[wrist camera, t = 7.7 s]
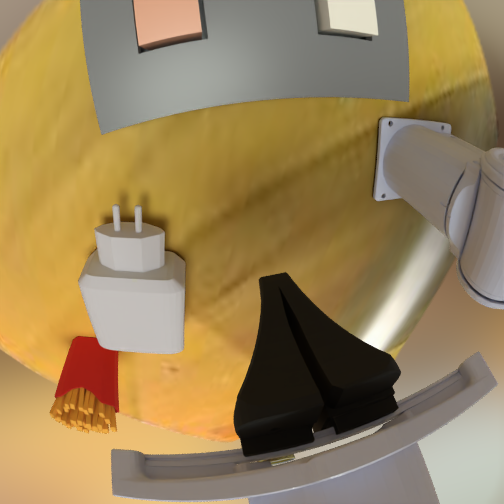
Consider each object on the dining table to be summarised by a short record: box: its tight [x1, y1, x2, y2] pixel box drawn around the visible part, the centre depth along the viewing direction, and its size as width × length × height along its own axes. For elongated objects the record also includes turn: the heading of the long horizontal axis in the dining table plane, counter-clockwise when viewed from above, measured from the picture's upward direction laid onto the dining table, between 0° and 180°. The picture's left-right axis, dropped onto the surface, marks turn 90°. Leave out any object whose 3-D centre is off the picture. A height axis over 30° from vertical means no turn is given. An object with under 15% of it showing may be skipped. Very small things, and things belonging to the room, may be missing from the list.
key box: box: [80, 0, 409, 135], centre depth 11 cm, size 20×12×4 cm, turn 96°
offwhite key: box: [314, 0, 378, 38], centre depth 11 cm, size 3×3×3 cm
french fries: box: [50, 336, 119, 434], centre depth 25 cm, size 8×4×12 cm, turn 81°
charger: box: [78, 204, 186, 354], centre depth 22 cm, size 5×9×15 cm
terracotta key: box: [133, 0, 202, 51], centre depth 10 cm, size 3×3×3 cm
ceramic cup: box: [257, 454, 295, 465], centre depth 61 cm, size 13×10×10 cm
